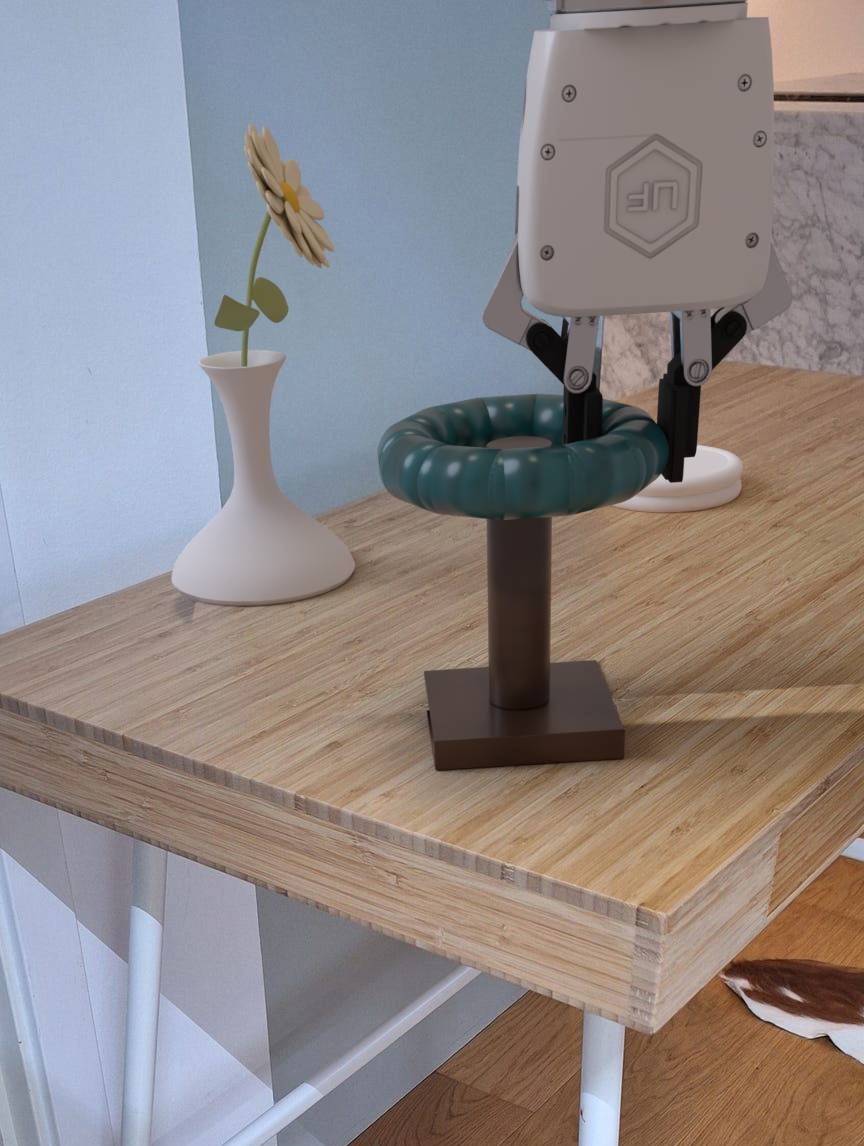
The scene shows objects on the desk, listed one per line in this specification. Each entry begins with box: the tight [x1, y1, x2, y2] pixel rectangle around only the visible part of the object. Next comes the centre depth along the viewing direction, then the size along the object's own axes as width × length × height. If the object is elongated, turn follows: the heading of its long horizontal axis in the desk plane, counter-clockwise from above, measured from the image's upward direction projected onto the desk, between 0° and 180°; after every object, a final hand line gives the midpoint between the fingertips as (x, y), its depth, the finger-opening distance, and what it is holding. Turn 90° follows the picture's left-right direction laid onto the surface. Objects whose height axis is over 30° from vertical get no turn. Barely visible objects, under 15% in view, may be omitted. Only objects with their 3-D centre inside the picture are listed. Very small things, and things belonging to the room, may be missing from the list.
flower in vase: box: [170, 123, 356, 607], centre depth 85 cm, size 13×11×25 cm
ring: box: [377, 393, 669, 520], centre depth 66 cm, size 13×13×3 cm
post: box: [423, 436, 626, 771], centre depth 70 cm, size 9×9×14 cm
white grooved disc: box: [610, 444, 744, 514], centre depth 101 cm, size 10×10×4 cm
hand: (627, 473), depth 67 cm, fingers closed on ring, 3 cm apart
